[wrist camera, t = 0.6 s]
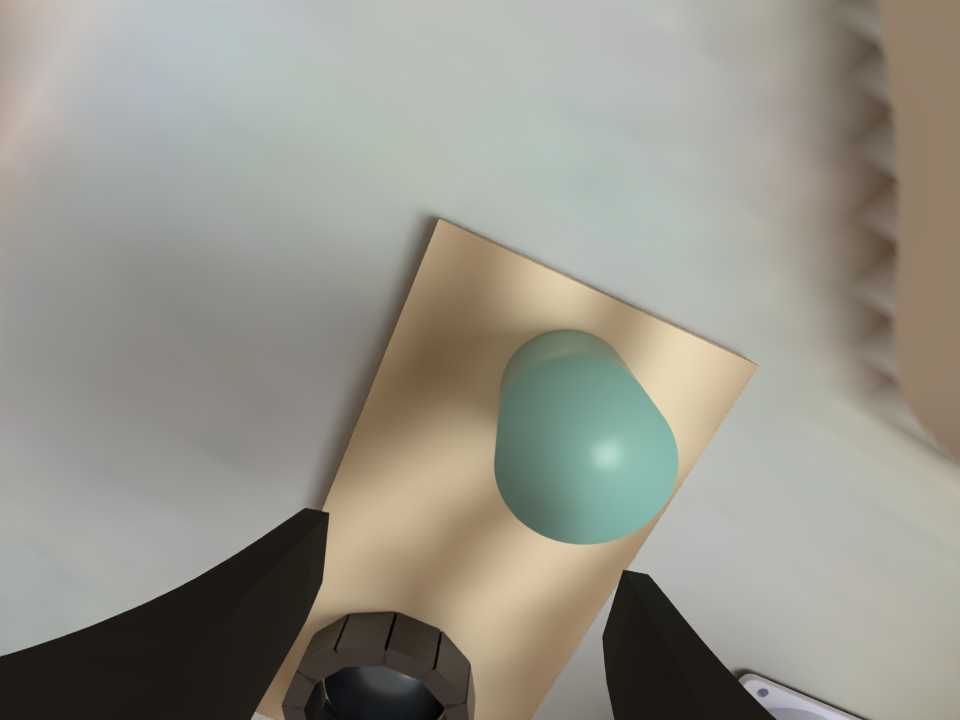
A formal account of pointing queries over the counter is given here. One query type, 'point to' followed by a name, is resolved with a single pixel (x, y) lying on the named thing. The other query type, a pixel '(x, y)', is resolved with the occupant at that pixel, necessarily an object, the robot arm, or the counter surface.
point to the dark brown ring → (381, 672)
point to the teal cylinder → (580, 441)
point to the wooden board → (489, 471)
